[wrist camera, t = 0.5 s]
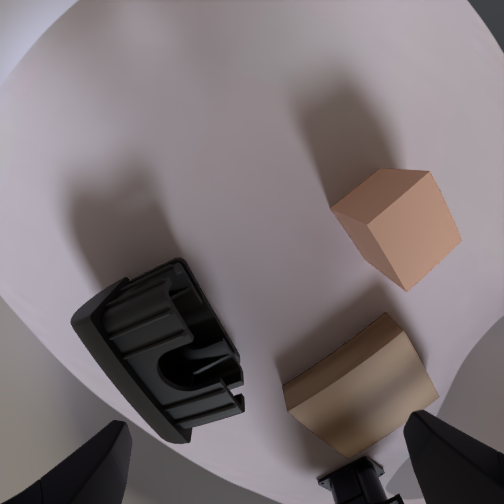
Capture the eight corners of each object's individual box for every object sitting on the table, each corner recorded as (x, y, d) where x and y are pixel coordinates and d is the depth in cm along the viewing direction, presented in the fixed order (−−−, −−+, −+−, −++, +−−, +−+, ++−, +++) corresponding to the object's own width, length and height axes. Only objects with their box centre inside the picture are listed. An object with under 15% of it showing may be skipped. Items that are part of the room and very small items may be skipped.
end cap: (97, 289, 20) (52, 334, 13) (179, 247, 20) (152, 285, 13) (167, 391, 23) (151, 452, 16) (245, 363, 22) (249, 428, 16)
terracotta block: (410, 221, 20) (462, 240, 14) (364, 259, 20) (406, 292, 15) (379, 168, 19) (429, 170, 13) (329, 208, 19) (366, 225, 13)
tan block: (424, 378, 24) (439, 396, 21) (340, 437, 25) (347, 458, 22) (386, 312, 21) (403, 330, 19) (282, 386, 23) (287, 411, 20)
